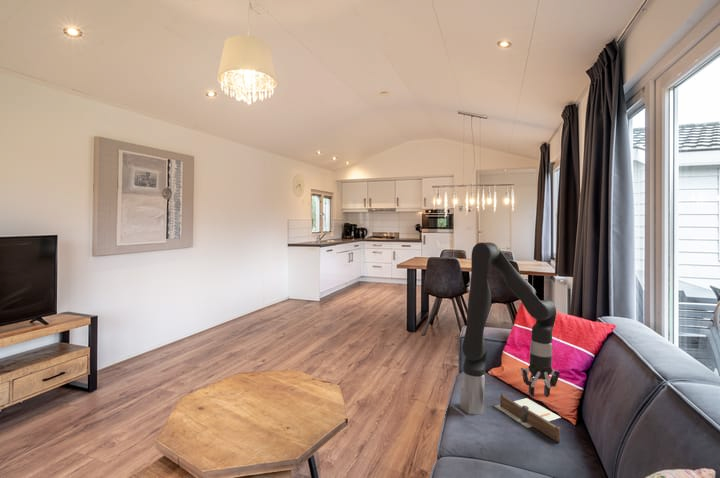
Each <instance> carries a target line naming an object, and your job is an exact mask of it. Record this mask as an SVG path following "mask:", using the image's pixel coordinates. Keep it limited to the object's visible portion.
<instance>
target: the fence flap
mask: <svg viewBox="0 0 720 478" xmlns="http://www.w3.org/2000/svg"><path fill="white" fill-rule="evenodd" d="M527 423H528V424H530V425H532V427H533V428H535V429H536V430H538V431H539V432H541V433H543V434H544V435H546V436H548V437H549V438H551V439H552V440H554V441H555V442H556V443H560V441H561V426H557V425H555V424H553V423H552V422H551V421H547V420H545V419H543V418H542V417H540V416H538V415H537V414H535V413H533V412H532V411H530V410H529V411H528V413H527Z"/></svg>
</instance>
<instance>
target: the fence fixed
mask: <svg viewBox="0 0 720 478" xmlns="http://www.w3.org/2000/svg"><path fill="white" fill-rule="evenodd" d="M499 399H500V401H499V405H500V407H502V408H504V409H505V410H507V411H508V412H510V413H512V414H513V415H515V416H516V417H518V418H519V419H522V421H523V422H527V413H528V411H529V407H527V406H520V405H519V404H517V403H515V402H514V401H515V400H512V399H510V398H508V397H507V396H505V394H504V393H500V397H499Z"/></svg>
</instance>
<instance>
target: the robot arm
mask: <svg viewBox="0 0 720 478" xmlns="http://www.w3.org/2000/svg"><path fill="white" fill-rule="evenodd" d="M470 261H471V264H470V265H471V272H470V285H469V294H468V298H467V299H468V300H467V312H466V326H465V332H464V333H465V334H464V338H463V342H462V344H461V345H462V347H461V348H462V349H461V350H462V354H463V356H464V362H463V365H462V387H460V400H459V402H460V403H459V409H461V410H462V411H463V412H465V413H466V414H467V415H474V416H475V415H482V414H483V413H484V409H485V408H484V405H485V376H486V368H487V359H488V354H487V353H488V344H487V341H486V340H485V338H484V332H485V331H484V330H485V327H486V324H487V320H488V318H489V314H490V310H491V303H492V292H491V288H490V284H489V279H488V272H489V265H490V266H492V267H493V268H495V269H496V270H497V271H498V273H499V274H500V275H501V277H502V278H503V280H504V283H505V285H506V286H507V287H508V289H509V290H510V291H511V292H512V293H513V294H514V296H516V298H518V299H519V301H520V302H521V303H522V305H523V306H524V307H523V308H525V311H526V312H527V313H528V314H529V315H530V317H531V318H533V319H534V320H535V323H534V324H533V325H532V328H531V337H530V338H531V341H530V348H529V365H528V367H527V368H524V367H521V368H520V370H521V376H522V380H523V383H524V384H525V385H526V386H528V393H529V395H530V396H531V397H535V385H536V383H537V381H538V380H542V381H543V383H544V385H543V386H544V387H543V388H544V389H543V396H544V397H545V398H548V397H550V395H551V388H552V387H556V386H557V383H558V380H559V377H560V374H561V373H560V372H559V370H557V369H555V368H554V369H553V368H552V364H553V342H552V341H553V330H554V327H555V323H556V319H557V318H556V317H557V308H556V305H555V303H554V302H552V301H551V300H550V299H549V300H548V299H542V300H540V299H539V297H538V296H537V295H536V294H537V291H536V290H537V289H535V288H534V287H533V285H531V283H529V281H528V280H526V279H525V278H524V277H523V276H522V275H521V274H520V273H519V272H518V270H517V269H516V268H515V267H514V266H513V265H512V264H511V262H510V261H509V260H508V258H507V257H506V256H505V254H504V253H503V252H502V250H501V249H500V248H499V247H498V245H497V244H496V243H494V242H477V243H476V244H474V246H473V248H472V249H471V260H470ZM529 373H530V376H529V377H528V375H529ZM550 375H551V377H550V378H549V376H550Z"/></svg>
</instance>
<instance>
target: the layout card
mask: <svg viewBox="0 0 720 478" xmlns="http://www.w3.org/2000/svg"><path fill="white" fill-rule="evenodd" d="M513 401H514V402H515V403H517V404H519V405H520V406H527V407H529V410H530V411H532V412H533V413H535V414H537V415H538V416H540V417H542V418H543V419H545V420H547V421H548V422H551V421H554V420H557V419H561V418H562V417H561V416H560V415H558V414H556V413H554V412H552V411H551V410H549V409H547V408H546V407H544V406H542V405H540V404H538V403H536V402H534V401H533V400H531V399H529V398H528V397H526V398H522V399H517V400H513ZM494 407H495V408H496V409H498V410H499V411H501V412H502V413H504V414H506V415H507V416H508V417H510V418H512V419H513V420H515V421H516V422H518V423H519V424H521V425H523V426H524V427H525V428H527V429H528V428H532V427H533V426H532V425H530V424H528V423H527V422H523V421H522V419H519V418H518V417H516V416H515V415H513V414H512V413H510V412H508V411H507V410H505V409H504V408H502V407H500V404H497V405H494Z"/></svg>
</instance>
